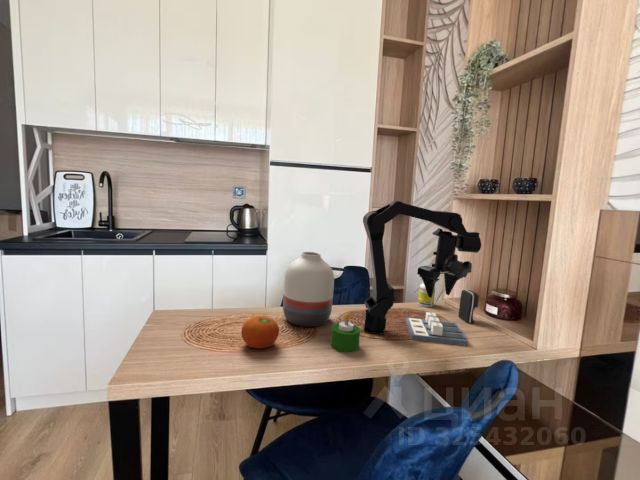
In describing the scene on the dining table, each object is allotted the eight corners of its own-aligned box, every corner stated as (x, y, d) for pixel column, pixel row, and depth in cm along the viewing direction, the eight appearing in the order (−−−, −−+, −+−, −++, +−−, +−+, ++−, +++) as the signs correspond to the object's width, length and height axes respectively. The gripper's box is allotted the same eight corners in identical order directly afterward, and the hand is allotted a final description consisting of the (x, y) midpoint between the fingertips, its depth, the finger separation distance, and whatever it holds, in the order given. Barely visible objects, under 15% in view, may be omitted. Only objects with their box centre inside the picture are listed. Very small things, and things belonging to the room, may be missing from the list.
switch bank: (411, 339, 113) (412, 333, 113) (405, 321, 129) (406, 316, 128) (466, 345, 111) (467, 339, 111) (453, 326, 127) (454, 321, 127)
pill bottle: (424, 302, 154) (427, 277, 152) (436, 306, 149) (439, 280, 147) (414, 303, 151) (417, 278, 149) (426, 308, 145) (429, 282, 144)
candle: (326, 341, 107) (328, 310, 105) (350, 339, 110) (353, 308, 109) (338, 354, 99) (340, 320, 98) (363, 350, 103) (366, 317, 101)
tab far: (426, 323, 123) (427, 314, 123) (425, 320, 126) (426, 311, 126) (435, 324, 123) (436, 315, 123) (433, 320, 126) (434, 312, 125)
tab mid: (429, 328, 118) (430, 319, 118) (427, 325, 121) (428, 316, 121) (438, 329, 118) (439, 320, 118) (436, 326, 121) (437, 317, 121)
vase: (313, 334, 111) (318, 260, 108) (271, 320, 120) (275, 252, 117) (339, 319, 126) (345, 254, 122) (300, 308, 134) (304, 247, 131)
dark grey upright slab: (477, 323, 131) (481, 294, 130) (467, 323, 131) (471, 293, 129) (466, 316, 138) (470, 288, 137) (457, 316, 138) (461, 288, 136)
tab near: (432, 334, 113) (433, 325, 113) (430, 330, 116) (431, 321, 116) (442, 335, 113) (443, 326, 113) (440, 331, 116) (441, 322, 116)
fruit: (236, 340, 103) (237, 314, 102) (269, 335, 109) (270, 310, 107) (248, 356, 94) (249, 328, 93) (284, 350, 99) (285, 323, 98)
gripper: (449, 255, 105) (441, 306, 107) (484, 254, 115) (477, 300, 117) (419, 248, 114) (412, 295, 116) (455, 248, 124) (448, 291, 126)
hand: (438, 295), depth 119 cm, fingers open, 9 cm apart
